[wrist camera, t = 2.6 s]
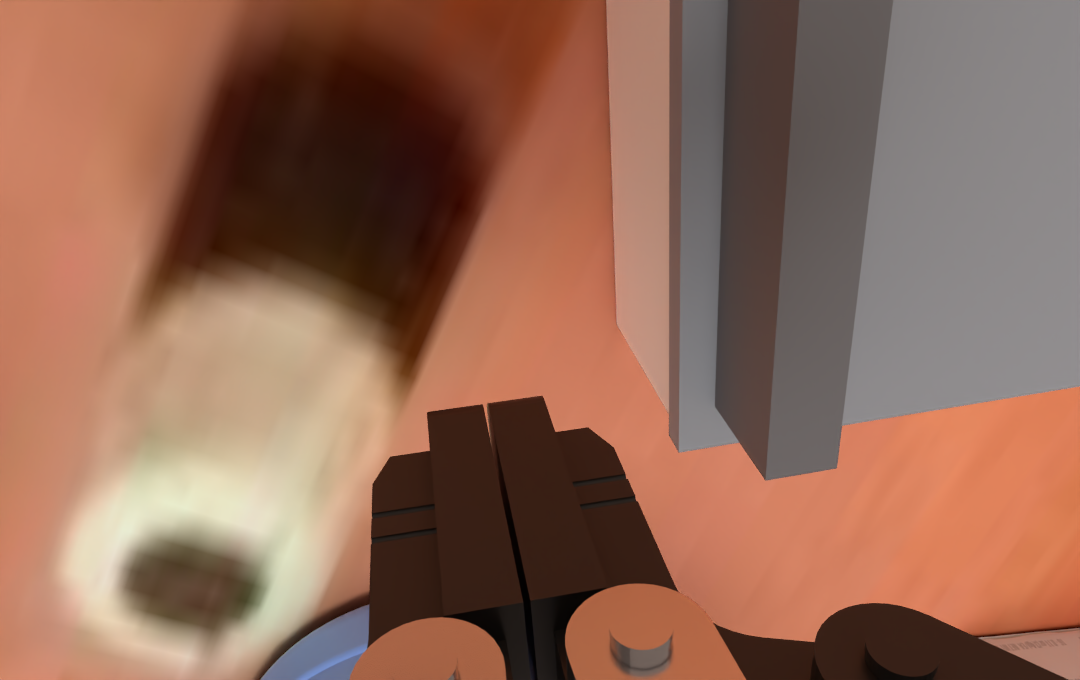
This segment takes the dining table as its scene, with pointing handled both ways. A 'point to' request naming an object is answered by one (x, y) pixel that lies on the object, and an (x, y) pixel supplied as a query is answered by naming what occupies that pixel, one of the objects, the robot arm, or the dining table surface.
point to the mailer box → (641, 179)
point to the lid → (867, 215)
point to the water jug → (325, 650)
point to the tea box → (1045, 649)
